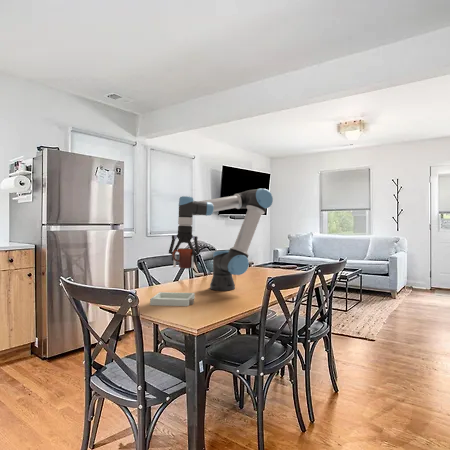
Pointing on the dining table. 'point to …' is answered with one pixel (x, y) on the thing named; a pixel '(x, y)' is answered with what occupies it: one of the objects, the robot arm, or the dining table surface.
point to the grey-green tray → (173, 299)
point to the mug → (184, 257)
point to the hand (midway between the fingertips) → (183, 267)
